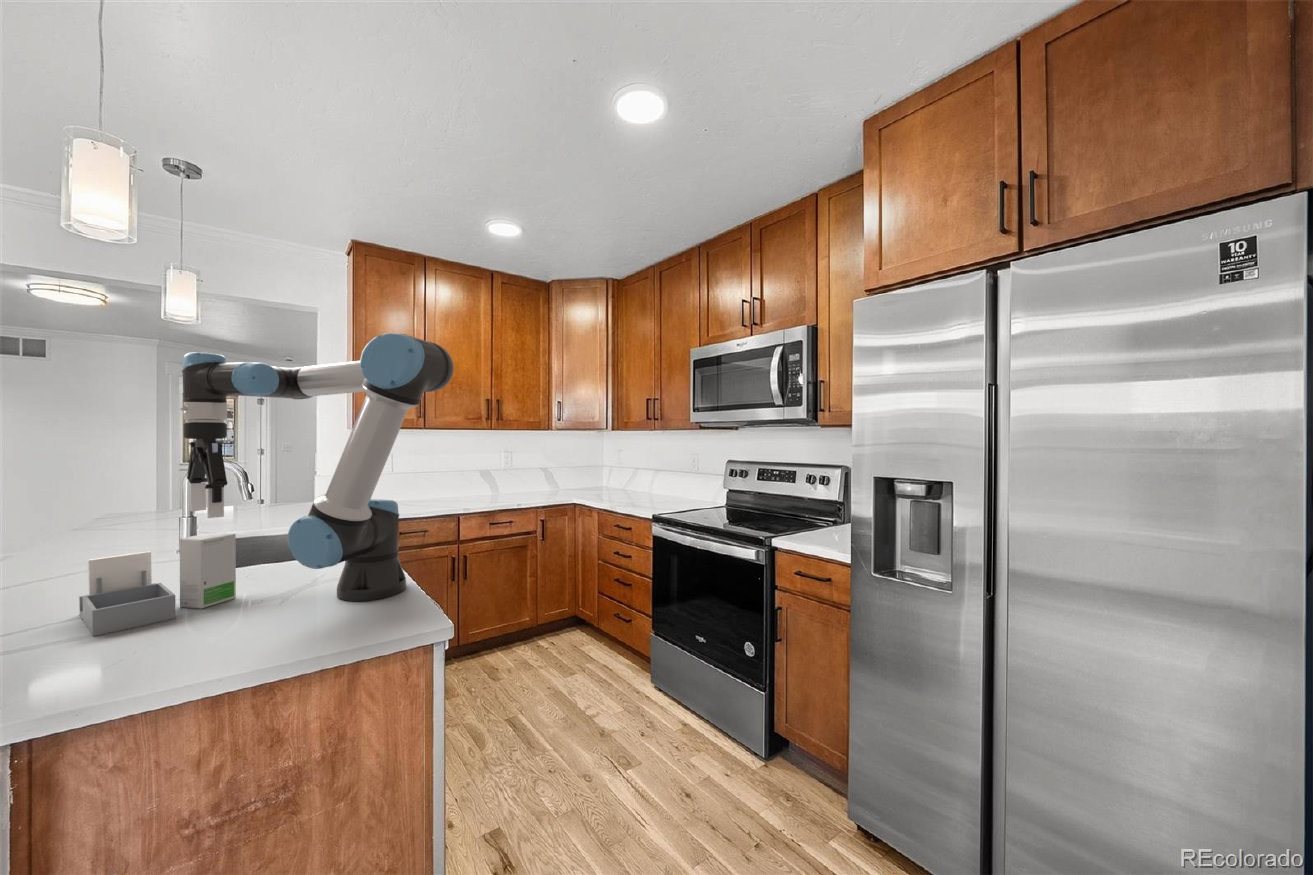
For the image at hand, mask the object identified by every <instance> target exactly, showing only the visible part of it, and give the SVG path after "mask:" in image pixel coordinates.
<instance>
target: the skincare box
mask: <svg viewBox="0 0 1313 875" xmlns="http://www.w3.org/2000/svg"><path fill="white" fill-rule="evenodd" d="M236 538H237V537H236V533H233V532H231V533H230V532H211V533H205V534H198V535H197V534H196V535H192V536H186V537H181V538H179V607H181V608H187V609H189V608H190V609H201V610H202V609H205V608H207V607H210V606H214V605H217V604H220V603H224V602H228V601H231V600H234V599H236V598H237V593H236V592H237V590H236V588H237V587H236V585H237V582H236V581H237V580H236V578H237V577H236V576H237V575H236V574H237V572H236V569H237V568H236V565H237V564H236V562H237V561H236V557H237V556H236V555H237V554H236V543H237V542H236V541H237V540H236Z"/></svg>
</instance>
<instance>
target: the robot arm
mask: <svg viewBox="0 0 1313 875" xmlns="http://www.w3.org/2000/svg"><path fill="white" fill-rule="evenodd" d="M182 359H183V360H182V369H181V373H182V395H183V396H182V397H183V398H182V402H183V405H182V406H180V411H183V419H184V420H186V421H187V422H184V423H183V437H184V439H186V440H187V439H188V440H195V441H190V443H189V444H190V452H189V453H190V454H189V459H188V460H189V461H188V466H187V467H188V468H187V475H186V480H187V481H188V482H189V502H190V503H189V506H190V507H189V508H190V509H189V510H190V512H200V511H206V512H207V514H206V515H207V519H213V518H214V519H215V518H222V517H225V497H224V496H225V495H224V494H225V492H224V490H225V486H227V485H228V480H227V473H226V469H225V468H226V467H225V463H224V462H225V461H224V457H223V456H224V455H223V444H222V443H221V442H217V439H218V440H219V439H220V440H221V439H226V438H227V436H228V423H226V422H225V421H227V420H228V403H227V402H228V401H227V396H235V397H236V396H238V397H239V396H242V397H261V398H280V399H281V398H282V399H292V400H308V399H311V398H313V397H318V396H319V397H321V396H330V395H342V394H343V395H344V394H352V393H353V394H354V393H362V392H365V395H366V396H365V398H364V400H363V403H362V406H361V407H360V410H359V412H358V415H357V417H356V418H355V419H356V420H355V422H354V424H353V427H352V429H351V432H350V434H349V435H348V436H349V437H348V439H347V441H346V444H345V446H344V449H343V452H342V454H341V456H340V458H339V461H338V464H337V466H336V468H335V470H334V472H333V476H332V478H331V480H330V482H329V485H328V487H327V490H326V492H325V494H322V495H320V496H318V497H317V496H316V498H315V499H314V500H313V502H312V505H311V507H310V509H309V512H308V514H307V515H304V516H302V517H300V518H298V519H297V520H295V521H294V522H292V524H291V526H290V527H289V530H288V533H287V544H288V548H289V550H290V551H291V555H292V556H293V558H294V559H295V560H296V562H298V563H299V564H301V565H302V566H305V567H306V568H309V569H313V570H320V569H325V568H331V567H334V566H336V565H338V564H341V563H343V562H344V565H343V568H342V571H341V573H340V574H341V575H340V577H339V580H338V582H337V585H336V597H337V599H340V600H341V601H349V602H362V601H363V602H364V601H375V600H380V599H384V598H388V597H392V596H395V595H398V594H400V593H402V592H403V591H405V590H406V588H407V579H406V578H407V577H406V576H405V575H406V574H405V572H404V570H403V567H402V564H401V562H400V558H399V525H400V524H399V519H400V518H399V517H400V513H399V505H398V502H397V501H395V500H392V499H372V498H373V497H372V496H373V494H374V491H375V489H376V487H377V485H378V482H379V479H380V477H381V475H382V473H383V470H384V468H385V465H386V464H387V461H388V459H389V456H390V454H391V451H392V449H393V448H394V447H393V446H394V444H395V442H396V439H397V437H398V434H399V433H400V429H401V428H402V425H403V423H404V420H405V418H406V415H407V414H408V411H409V410H410V409H413V408H416V407H418V406H419V404H420V401H421V400H422V397H423V394H424V393H429V392H431V393H432V392H437V391H439V390H442V389H443V388H445V387H446V386H447V385H448V384H450V383H449V382H450V381H451V380H452V378H453V375H454V368H455V367H454V361H453V359H452V357H451V355H450V354H449V352H448V351H447V350H446V349H445V348H444V347H442V346H441V345H439V344H437V343H436V342H431V341H428V340H424V339H421V338H417V337H414V336H412V335H408V334H407V333H395V332H387V333H382V334H380V335H377V336H375V337H373V338H372V339H371V340H370V341H368V343H367V344H366V345H365V346H364V348H363V350H362V351H361V354H360V359H359V360H355V361H347V362H346V361H345V362H337V363H326V364H318V365H308V366H298V367H283V366H282V367H281V366H275V365H270V364H269V363H266V362H265V363H264V362H257V361H256V362H255V361H246V362H245V361H244V362H243V361H242V362H227V358H226V357H225V356H224V355H222V354H219V353H211V352H209V353H208V352H188V353H186V354H184V355H183V358H182ZM206 483H207V484H206Z"/></svg>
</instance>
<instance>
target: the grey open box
mask: <svg viewBox="0 0 1313 875" xmlns="http://www.w3.org/2000/svg"><path fill="white" fill-rule="evenodd" d="M87 562H88V563H87V565H88V566H87V570H88V572H87V574H88V578H87V579H88V594H85V595H84V594H83V595H79V596H78V598H79V599H78V600H79V602H78V603H79V604H78V606H79V616H80V618H81V620H82V619H83V620H82V621H83V623H84V624H85V626H86V627H88V628H87V629H88V631H89V632H91V633H90V634H91V636H92V637H96V636H99V635H104V634H110V633H114V632H119V631H124V630H126V629H127V628H128V629H133V628H137V627H141V626H142V627H143V626H146V625H150V624H155V623H160V622H164V621H169V620H172V619H173V620H174V619H176V594H175V593H174V592H172V591H171V590H170V589H169V588H167V587H166V586H165V585H164V584H163V583H162V582H157V583H155V582H154V583H153V582H152V579H153V578H152V551H150V550H148V551H142V552H132V553H127V554H126V553H125V554H120V555H112V556H111V555H110V556H103V557H97V558H89V559H88V560H87ZM132 627H133V628H132ZM128 629H127V630H128ZM109 632H110V633H109Z"/></svg>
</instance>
